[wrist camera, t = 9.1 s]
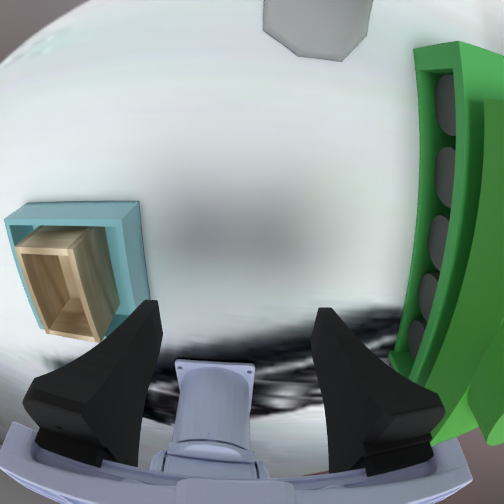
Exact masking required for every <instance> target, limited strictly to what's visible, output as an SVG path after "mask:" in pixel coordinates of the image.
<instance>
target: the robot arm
mask: <svg viewBox="0 0 504 504" xmlns="http://www.w3.org/2000/svg"><path fill="white" fill-rule="evenodd" d="M162 336H163V331H162V325H161V319H160V313H159V306H158V301H157V300H144V301H143V302H142V303H141V304H140V305H139V306H138V307H137V308H136V309H135V310H134V311H133V312H132V313H131V314H130V315H129V316H128V317H127V318H126V319H125V320H124V321H123V322H122V323H121V324H120V325H119V326H118V327H117V328H116V329H115V330H114V331H113V332H112V333H111V334H110V335H108V336H107V337H106V338H105V339H104V340H103V341H102V342H100V343H99V344H98V345H96V346H95V347H94V348H92V349H91V350H90V351H88V352H87V353H85V354H84V355H82V356H80V357H79V358H77V359H76V360H74V361H72V362H70V363H69V364H67V365H65V366H63V367H61V368H59V369H57V370H54V371H52V372H50V373H47V374H45V375H42V376H39V377H37V378H34V380H33V382H32V383H31V385H30V387H29V389H28V391H27V393H26V395H25V397H24V399H23V406H24V408H25V410H26V411H27V413H28V414H29V415H30V416H31V418H32V419H33V420H34V421H35V422H36V424H37V425H38V426H39V427H40V428H39V431H38V433H37V432H36V431H34V430H33V429H31V428H28V427H26V426H24V425H21V424H19V423H17V422H12V424H11V427H10V429H9V431H8V433H7V436H6V438H5V440H4V443H3V445H2V448H1V450H0V469H2V470H3V471H4V472H5V473H7V474H8V475H9V476H11V477H12V478H14V479H15V480H16V481H18V482H19V483H21V484H22V485H23V486H25V487H27V488H29V489H31V490H33V491H35V492H37V493H39V494H41V495H43V496H45V497H48V498H50V499H52V500H54V501H57V502H59V503H61V504H434V503H436V502H438V501H441V500H443V499H445V498H446V497H448V496H449V495H451V494H453V493H455V492H456V491H458V490H459V489H461V488H462V487H464V486H465V485H467V484H468V483H469V482H471V481H472V480H473V478H472V476H471V473H470V470H469V467H468V465H467V462H466V459H465V457H464V454H463V452H462V449H461V447H460V444H459V442H458V439H457V438H456V437H455V438H452V439H449V440H446V441H443V442H440V443H438V444H436V445H434V446H432V447H431V444H430V442H429V441H431V440H432V436H431V433H430V432H431V431H432V430H433V429H434V428H435V427H436V426H437V425H438V424H439V422H440V421H441V420H442V419H443V417H444V415H445V412H446V411H445V408H444V405H443V403H442V401H441V399H440V397H439V395H438V393H435V392H433V391H431V390H429V389H426V388H424V387H422V386H420V385H418V384H416V383H414V382H413V381H411V380H409V379H407V378H406V377H404V376H402V375H401V374H399V373H398V372H396V371H395V370H394V369H392V368H391V367H389V366H388V365H387V364H385V363H384V362H383V361H382V360H381V359H379V358H378V357H377V356H376V355H375V354H373V353H372V352H371V351H370V350H369V349H368V348H367V347H366V346H365V345H364V344H363V343H362V342H361V341H360V340H359V339H358V338H357V337H356V336H355V334H354V333H353V332H352V331H351V330H350V329H349V328H348V327H347V325H346V324H345V323H344V322H343V321H342V319H341V318H340V317H339V316H338V315H337V314H336V312H335V311H334V310H333V309H332V308H318V312H317V317H316V321H315V325H314V329H313V332H312V336H311V348H312V356H313V362H314V366H315V370H316V374H317V378H318V381H319V385H320V389H321V393H322V397H323V402H324V408H325V416H326V425H327V436H328V452H329V474H324V475H316V476H315V475H314V476H303V477H289V478H270V474H269V471H268V468H267V467H266V466H265V465H264V464H263V462H262V461H255V452H254V451H250V415H249V413H250V409H251V400H252V392H253V383H254V374H255V365H254V364H252V363H230V362H211V361H197V360H184V359H177V360H176V361H175V368H176V373H177V379H178V384H179V389H180V396H179V402H178V408H177V414H176V420H175V426H174V432H173V439H172V442H169V445H168V452H167V451H163V450H160V451H159V452H158V453H157V454H155V455H154V456H153V458H152V461H151V465H150V469H144V468H139V467H138V451H139V440H140V431H141V423H142V416H143V410H144V404H145V399H146V395H147V391H148V387H149V384H150V381H151V378H152V375H153V372H154V368H155V365H156V362H157V359H158V356H159V352H160V347H161V342H162Z"/></svg>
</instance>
